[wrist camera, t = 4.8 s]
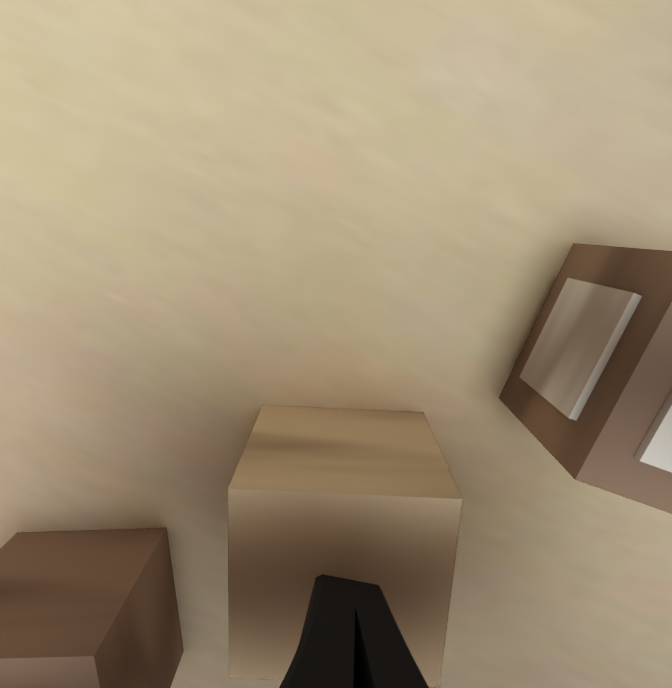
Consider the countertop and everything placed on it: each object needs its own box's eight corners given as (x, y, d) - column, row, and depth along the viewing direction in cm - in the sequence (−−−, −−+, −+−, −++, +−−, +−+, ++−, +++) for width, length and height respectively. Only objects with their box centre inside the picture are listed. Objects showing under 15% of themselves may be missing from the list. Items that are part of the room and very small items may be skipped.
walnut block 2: (640, 449, 15) (787, 557, 10) (492, 395, 15) (571, 481, 10) (723, 303, 14) (933, 346, 9) (566, 240, 14) (696, 249, 9)
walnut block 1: (183, 649, 17) (120, 823, 12) (40, 653, 17) (-81, 827, 12) (166, 526, 16) (89, 664, 11) (12, 531, 16) (-134, 669, 11)
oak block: (409, 550, 16) (439, 687, 12) (261, 543, 16) (229, 678, 12) (422, 411, 15) (462, 499, 10) (263, 403, 15) (227, 488, 10)
